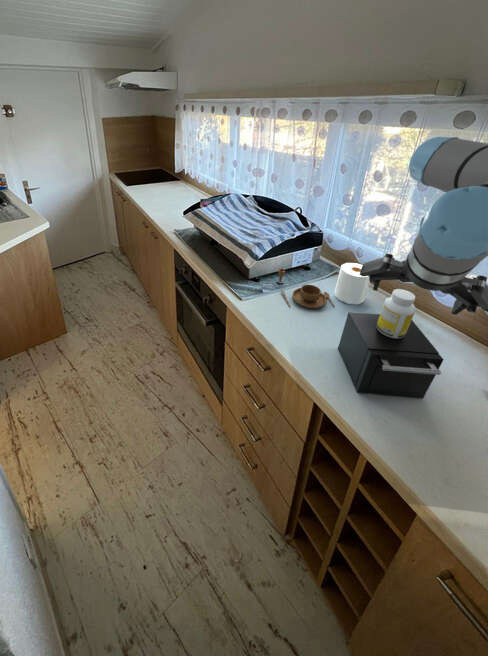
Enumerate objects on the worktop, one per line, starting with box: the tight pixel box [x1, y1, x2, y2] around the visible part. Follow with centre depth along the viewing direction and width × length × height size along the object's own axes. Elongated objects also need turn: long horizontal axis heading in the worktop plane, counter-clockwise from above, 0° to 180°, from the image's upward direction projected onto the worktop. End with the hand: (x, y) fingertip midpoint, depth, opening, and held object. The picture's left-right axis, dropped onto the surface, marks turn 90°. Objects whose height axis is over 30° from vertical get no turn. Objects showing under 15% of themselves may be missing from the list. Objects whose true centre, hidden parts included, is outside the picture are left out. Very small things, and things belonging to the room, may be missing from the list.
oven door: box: [354, 350, 444, 400], centre depth 74 cm, size 5×16×14 cm, turn 83°
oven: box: [337, 311, 440, 388], centre depth 83 cm, size 14×16×14 cm
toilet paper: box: [334, 262, 371, 305], centre depth 113 cm, size 10×10×12 cm
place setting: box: [277, 268, 336, 309], centre depth 117 cm, size 18×20×6 cm
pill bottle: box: [377, 288, 416, 338], centre depth 77 cm, size 6×6×12 cm
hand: (413, 295), depth 63 cm, fingers open, 13 cm apart
